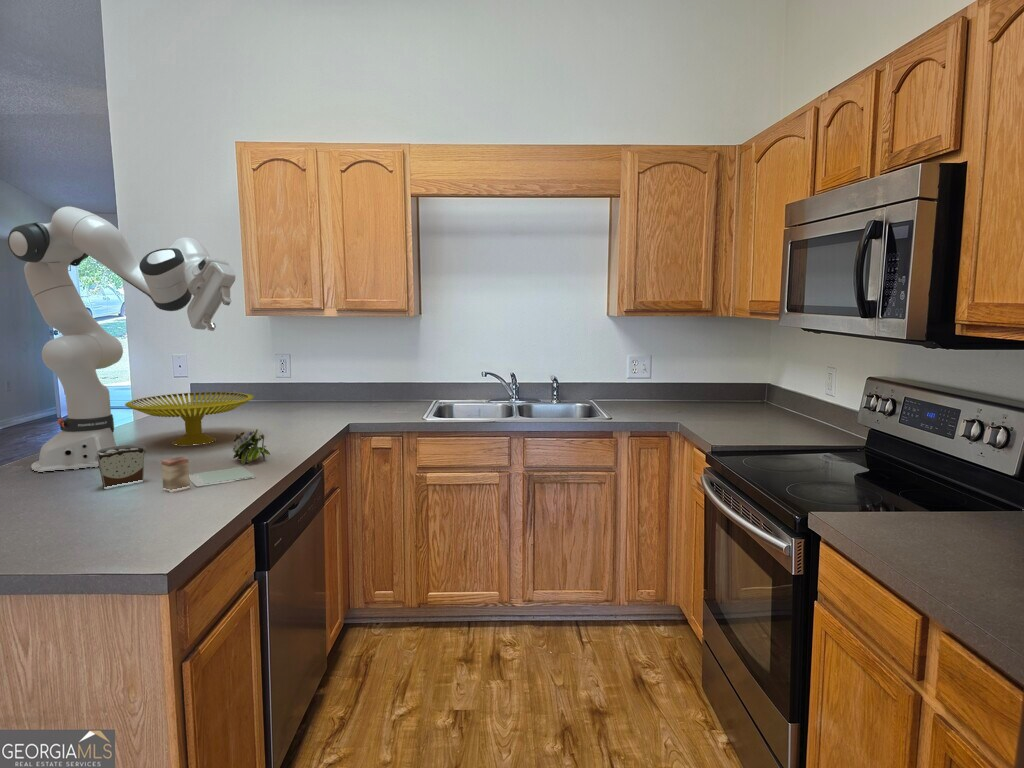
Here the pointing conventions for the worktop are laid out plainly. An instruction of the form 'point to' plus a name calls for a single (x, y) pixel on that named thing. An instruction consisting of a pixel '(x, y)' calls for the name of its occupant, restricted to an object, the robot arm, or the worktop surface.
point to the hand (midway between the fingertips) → (219, 316)
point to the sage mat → (224, 475)
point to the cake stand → (190, 411)
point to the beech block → (175, 473)
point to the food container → (121, 464)
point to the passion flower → (248, 441)
